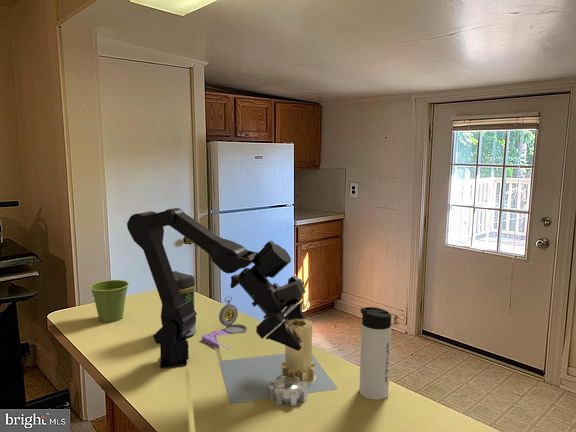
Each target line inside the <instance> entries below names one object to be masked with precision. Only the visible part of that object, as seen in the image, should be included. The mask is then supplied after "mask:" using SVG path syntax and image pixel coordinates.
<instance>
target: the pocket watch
mask: <svg viewBox="0 0 576 432" xmlns="http://www.w3.org/2000/svg"><path fill="white" fill-rule="evenodd" d="M227 298H228V296H226V297H225V298H224V301H225V302H226V303H227V304H225V305H224V306H223V307H222V308H221V309H220V311H219V313H218V314H219V315H218V319H219V322H220V324H221V325H222V326H225V327H224V331H225V332H227V333H229V335H234V334H244V333H246V332H247V331H248V329H247V326H245V325H244V324H237V323H236V324H234V323H235V322H236V320H237V318H238V314H239V313H238V312H239V311H238V308H237V306H236V305H234V304H232V303H231V301H232V296H229V298H230V299H227ZM226 299H227V300H226Z"/></svg>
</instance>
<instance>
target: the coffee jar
mask: <svg viewBox="0 0 576 432" xmlns="http://www.w3.org/2000/svg"><path fill="white" fill-rule="evenodd" d="M172 272H173V275H174V278H175V280H176V283H177V286H178V289H179V292H180V295H181V297H182V298H183V299H184V300H185V301H187V302H188V301H190V300H191V301H192V302H193V307H194V308H195V291H196V280H195V276H194V275H192V274H187V273H182V272H180V271H177V270H174V271H173V270H172ZM196 322H197V321H196ZM196 322H195V325H194V326H193V327H192V328H191V330H190V333H189V334H187V335H185V336H186V339H188V338H191V337H192V336H194V335H195V333H197V330H196V329H197V328H196V327H197V326H196V324H197V323H196Z"/></svg>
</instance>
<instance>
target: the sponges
mask: <svg viewBox="0 0 576 432" xmlns="http://www.w3.org/2000/svg"><path fill="white" fill-rule="evenodd" d="M222 335H223V336H230V334H229V333H227V332H225V330H222V329H218V330H216V331H213V332H210V333H208V334H207V333H206V334H204V335H201V341H202V342H205V343H206V344H209V345H211V346H212V347H214V348H216V349H219V350H220V347H222V348H225V349H227V350H231V348H230V347H228V346H226V345H224V344H221V343H220V342H219V340H218V338H217V336H218V337H221V336H222Z"/></svg>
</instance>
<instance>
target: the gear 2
mask: <svg viewBox="0 0 576 432" xmlns="http://www.w3.org/2000/svg"><path fill="white" fill-rule="evenodd" d="M307 385H308V384H307V383H306V382H302V381H300V378H299V377H294V378H287V376H281V379H278V380H275V379H273V380H272V381H271V386H269V398H270V401H273V400H274V401H275V404H276V405H277V406H282V405H290V407H297V404H298V403H300V402H301V403H305V402H306V401H307V398H308V397H307V396H308V393H307Z"/></svg>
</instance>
